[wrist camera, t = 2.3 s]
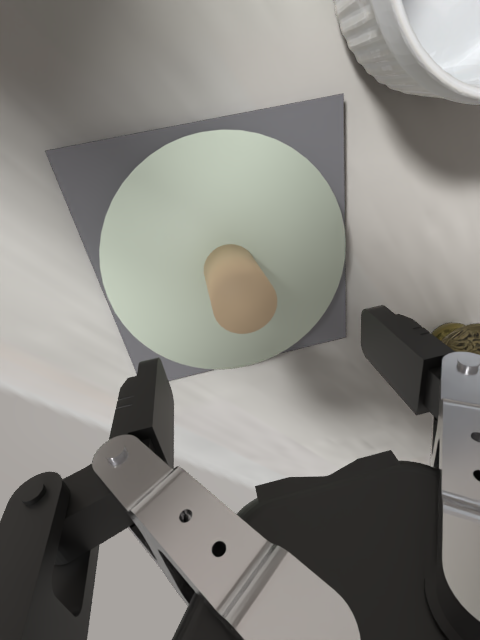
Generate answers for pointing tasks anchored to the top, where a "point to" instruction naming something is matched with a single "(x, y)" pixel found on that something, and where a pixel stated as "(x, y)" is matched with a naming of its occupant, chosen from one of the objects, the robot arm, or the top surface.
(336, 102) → the mat
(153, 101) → the top surface
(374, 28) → the ramekin
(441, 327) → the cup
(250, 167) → the lid
